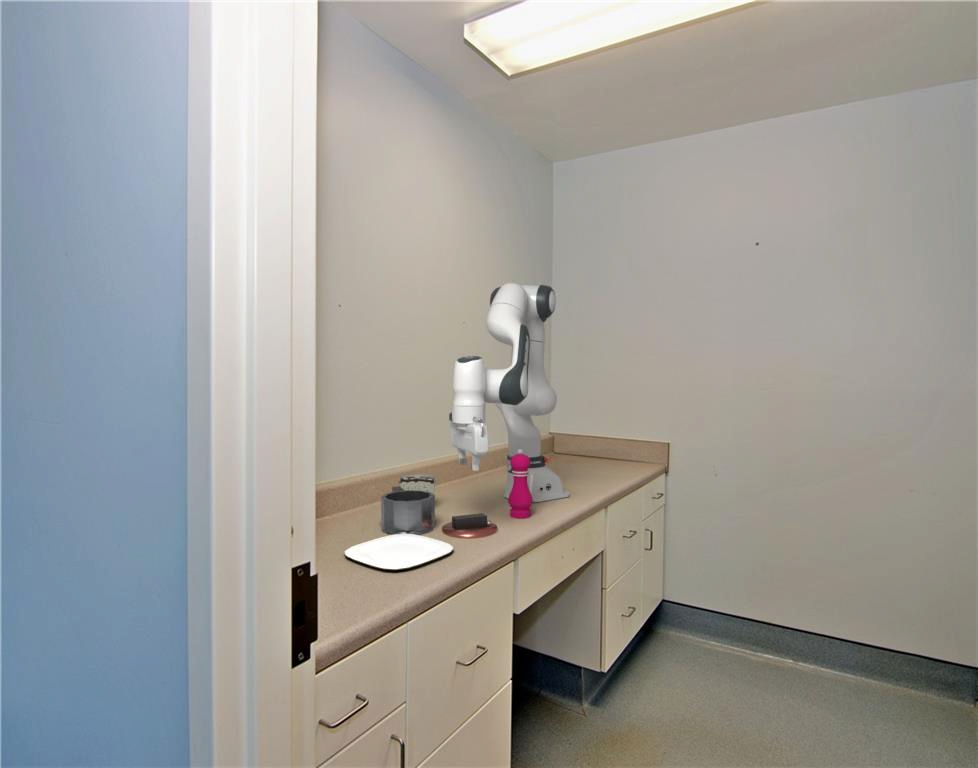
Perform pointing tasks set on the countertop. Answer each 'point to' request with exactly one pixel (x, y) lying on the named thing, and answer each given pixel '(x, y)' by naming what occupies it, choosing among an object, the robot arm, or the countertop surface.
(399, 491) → the pot
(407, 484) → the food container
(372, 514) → the countertop surface
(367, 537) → the countertop surface
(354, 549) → the plate
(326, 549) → the countertop surface
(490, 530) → the lid
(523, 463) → the pepper mill
